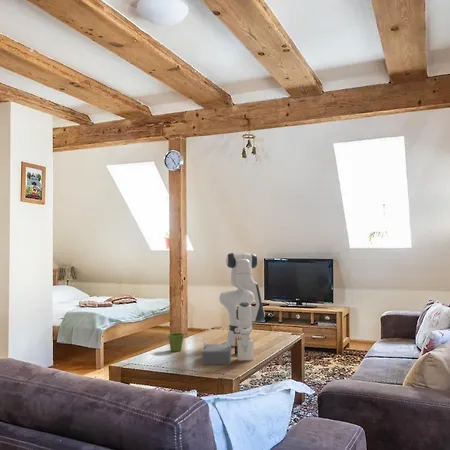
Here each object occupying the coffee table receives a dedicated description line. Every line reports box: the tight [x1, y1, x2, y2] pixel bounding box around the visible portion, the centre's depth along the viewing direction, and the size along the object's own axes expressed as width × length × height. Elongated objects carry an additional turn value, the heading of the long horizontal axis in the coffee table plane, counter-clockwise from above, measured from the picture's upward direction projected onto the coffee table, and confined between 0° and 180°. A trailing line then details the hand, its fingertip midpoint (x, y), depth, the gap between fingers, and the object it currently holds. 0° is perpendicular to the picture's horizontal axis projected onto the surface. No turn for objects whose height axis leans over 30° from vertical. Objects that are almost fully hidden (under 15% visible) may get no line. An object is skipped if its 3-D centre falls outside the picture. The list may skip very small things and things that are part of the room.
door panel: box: [237, 339, 255, 361], centre depth 322 cm, size 3×10×12 cm, turn 88°
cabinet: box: [201, 342, 232, 365], centre depth 320 cm, size 21×17×11 cm
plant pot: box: [167, 332, 185, 352], centre depth 351 cm, size 12×12×11 cm
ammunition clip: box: [234, 336, 251, 355], centre depth 338 cm, size 11×2×12 cm, turn 73°
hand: (245, 350), depth 322 cm, fingers open, 4 cm apart
